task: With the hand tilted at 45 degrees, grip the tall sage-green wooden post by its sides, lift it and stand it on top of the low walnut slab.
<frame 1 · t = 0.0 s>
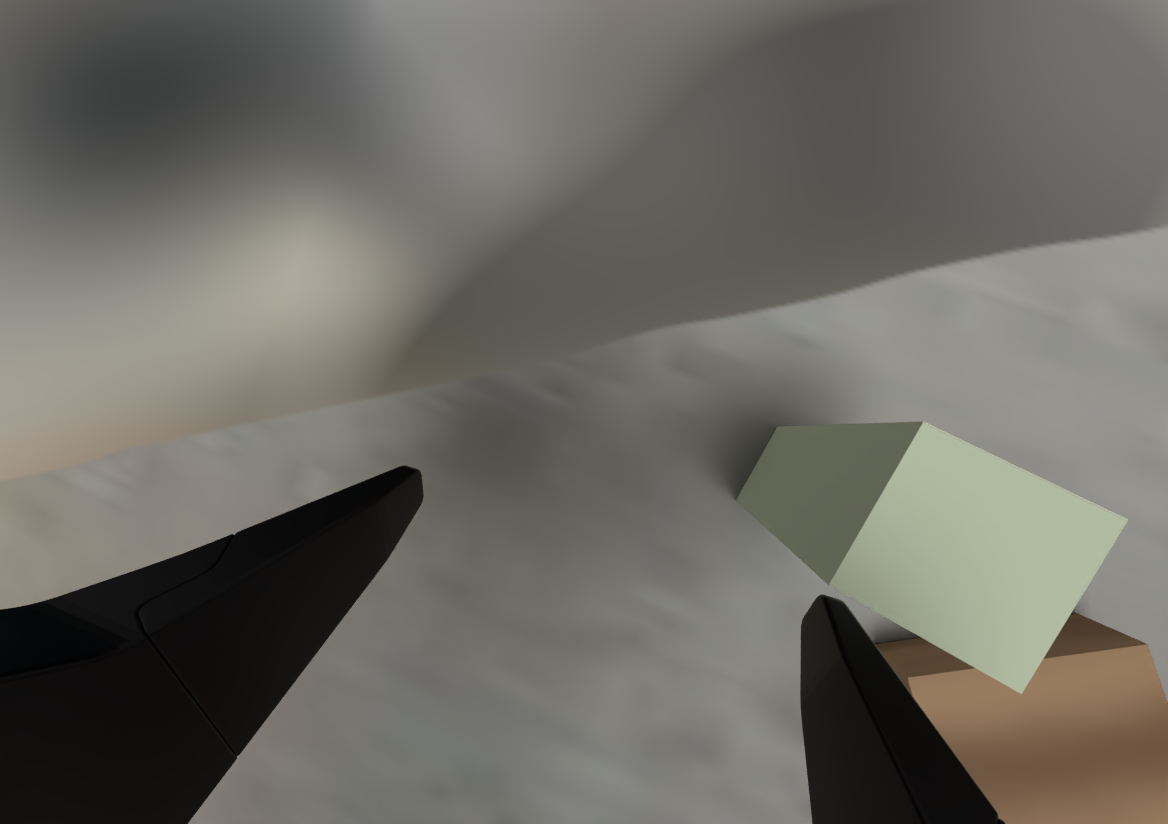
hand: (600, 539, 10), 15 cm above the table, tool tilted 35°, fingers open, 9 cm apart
sage post: (796, 484, 23), on the table
walnut slab: (1001, 724, 21), on the table
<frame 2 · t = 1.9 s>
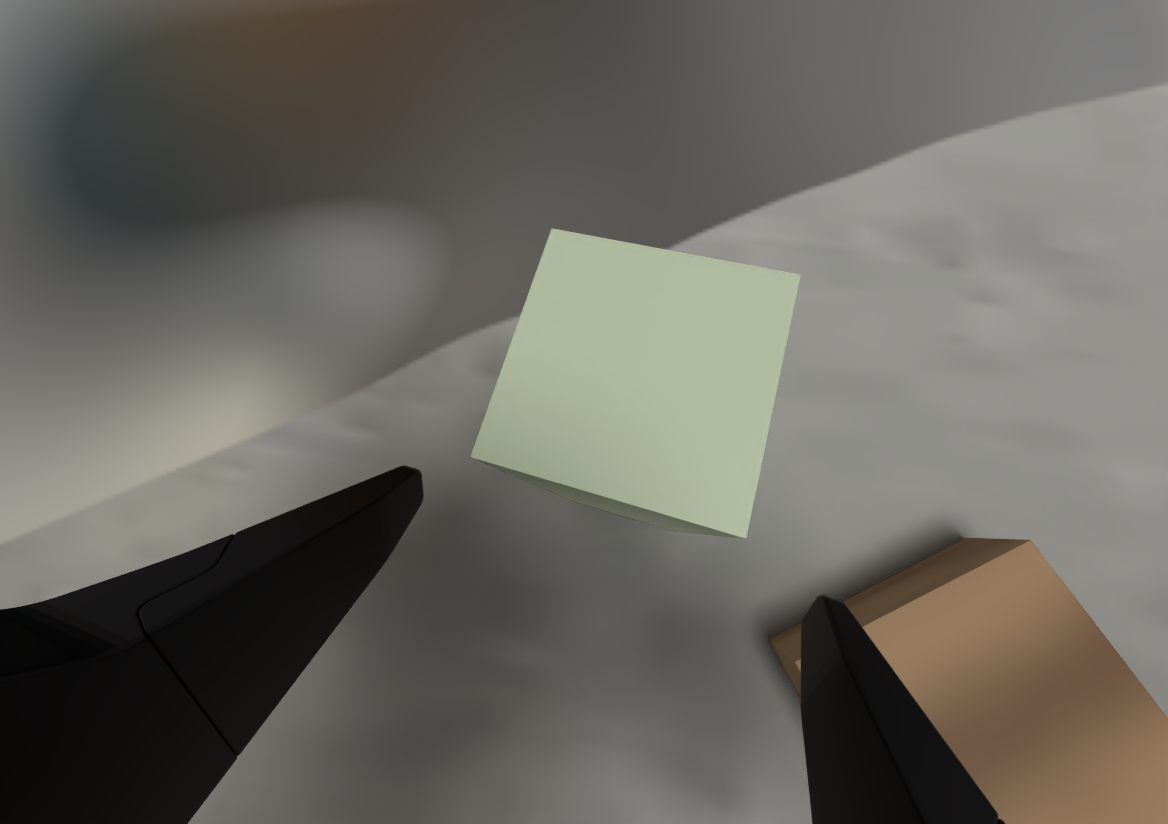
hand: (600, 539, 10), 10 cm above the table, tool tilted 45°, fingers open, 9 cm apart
sage post: (635, 467, 20), on the table
walnut slab: (941, 705, 16), on the table
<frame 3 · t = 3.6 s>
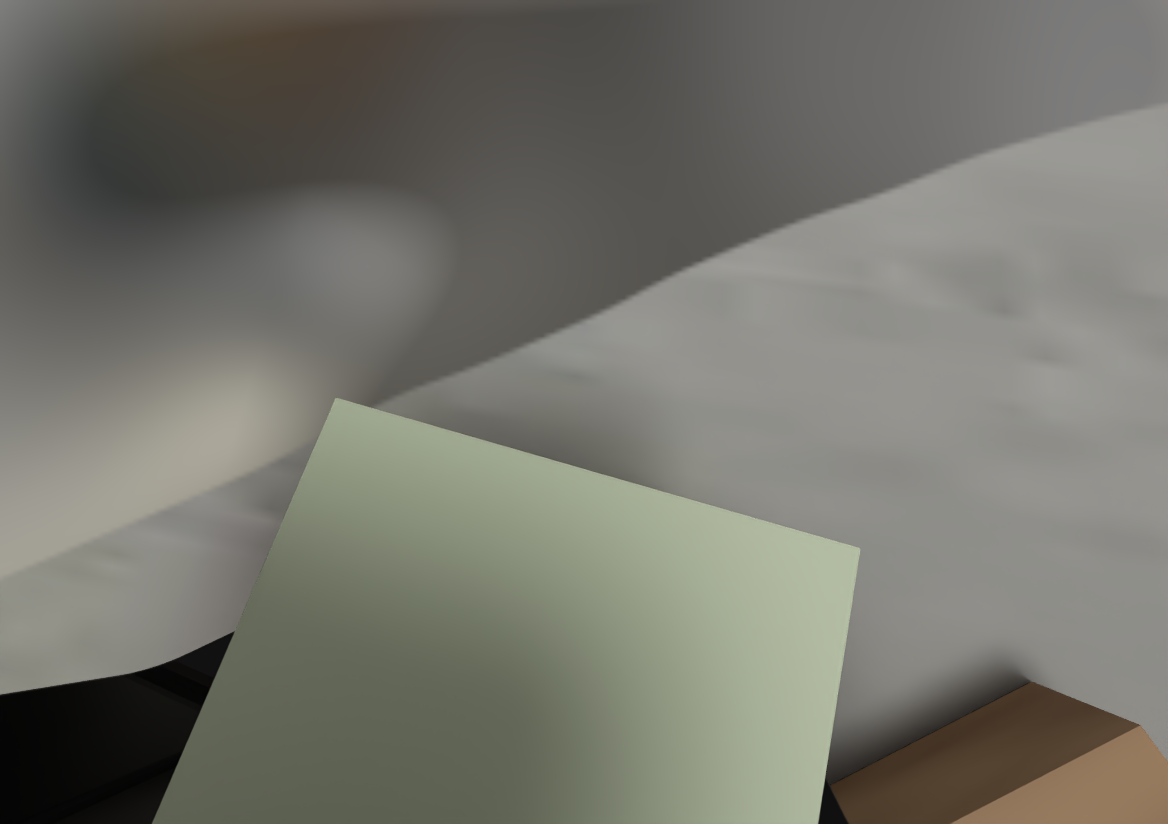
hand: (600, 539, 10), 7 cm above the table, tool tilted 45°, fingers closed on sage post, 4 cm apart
sage post: (604, 571, 16), on the table, touching gripper
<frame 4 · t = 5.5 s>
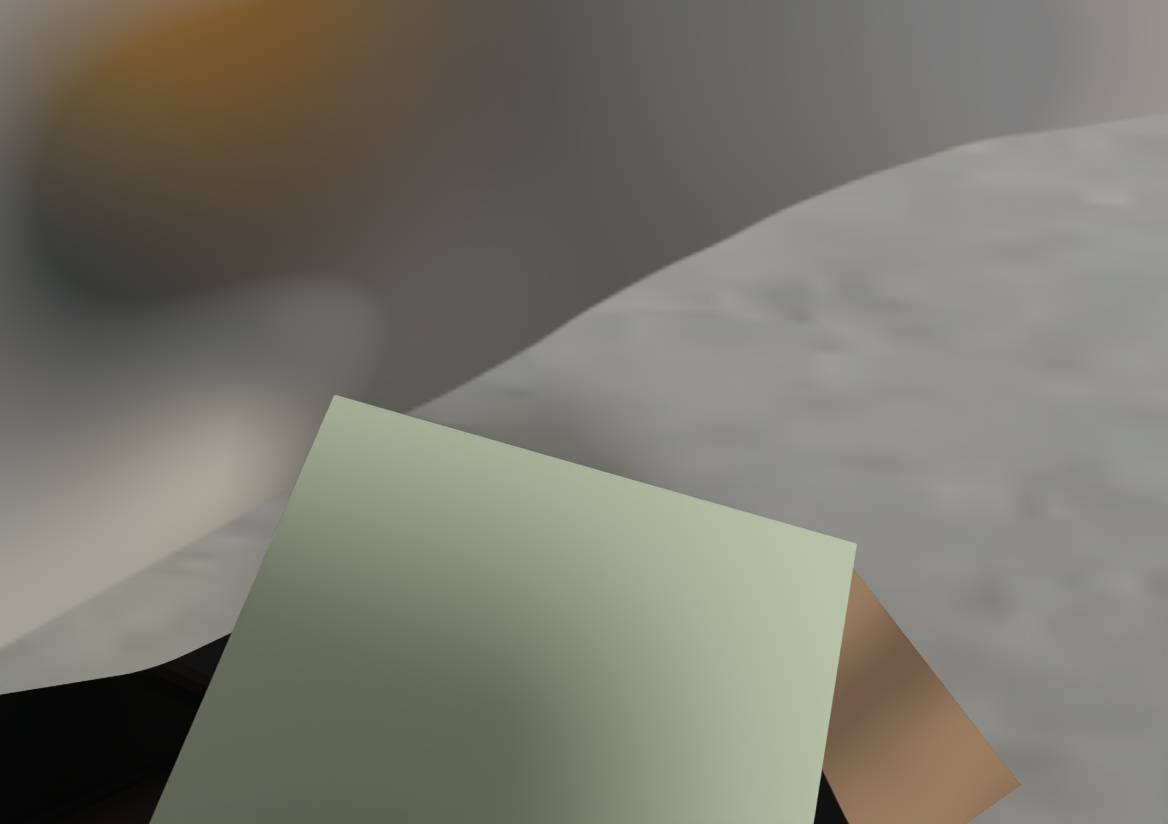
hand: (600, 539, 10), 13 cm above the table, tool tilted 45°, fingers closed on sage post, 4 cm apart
sage post: (603, 570, 16), point 7 cm above the table, touching gripper
walnut slab: (805, 700, 20), on the table
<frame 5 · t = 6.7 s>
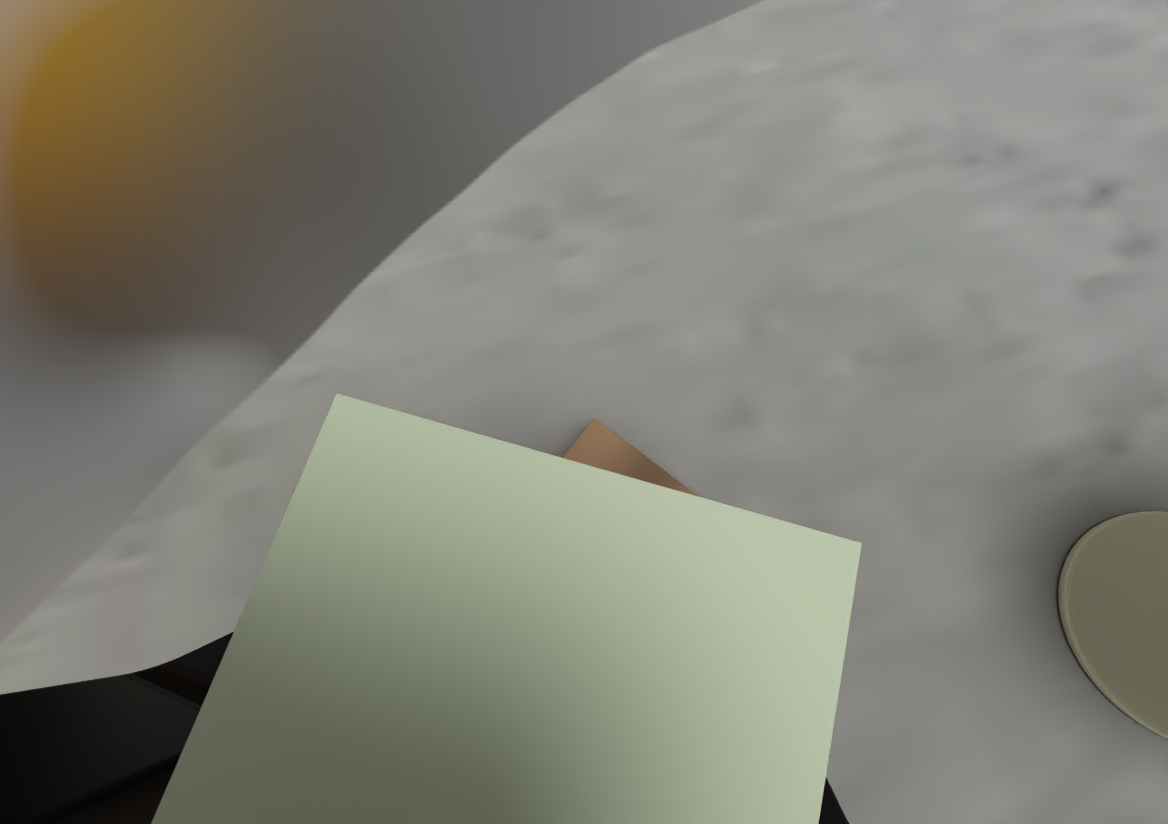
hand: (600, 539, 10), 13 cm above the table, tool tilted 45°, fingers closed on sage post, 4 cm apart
sage post: (604, 570, 16), point 6 cm above the table, touching gripper
walnut slab: (614, 555, 21), on the table
when the fingers open (10 cm above the table, at t = 7.4 s): sage post stays where it is, resting on walnut slab.
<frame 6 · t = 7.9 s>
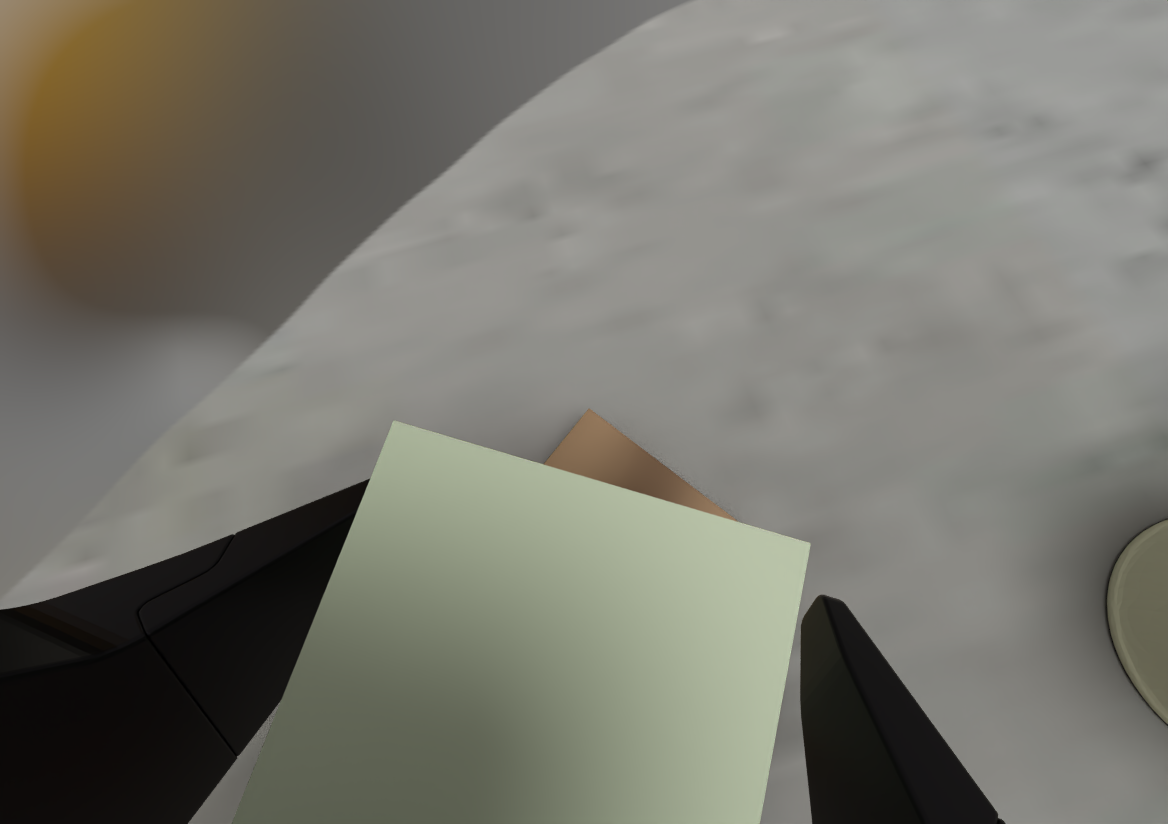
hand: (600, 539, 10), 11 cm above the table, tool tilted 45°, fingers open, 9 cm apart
sage post: (606, 568, 17), point 3 cm above the table, touching walnut slab
walnut slab: (610, 561, 19), on the table
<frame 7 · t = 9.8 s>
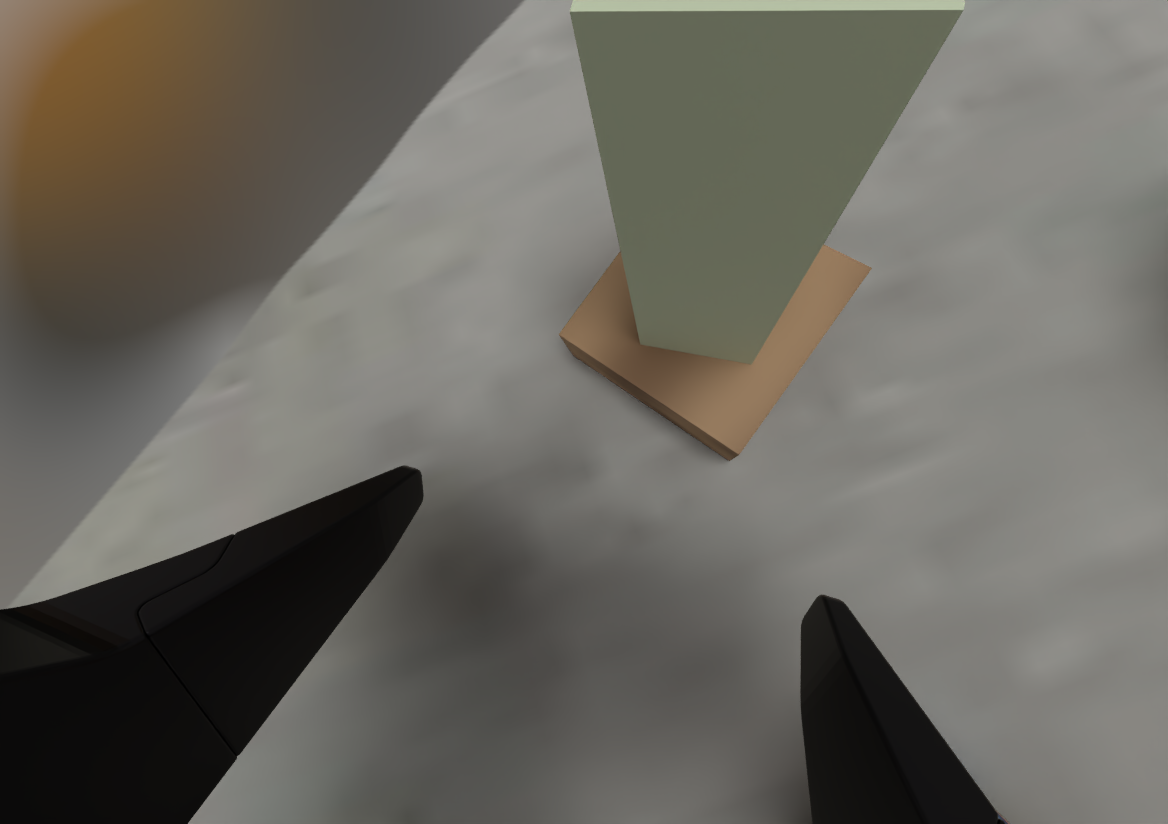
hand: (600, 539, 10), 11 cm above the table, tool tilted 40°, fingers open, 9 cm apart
sage post: (705, 303, 18), point 3 cm above the table, touching walnut slab
walnut slab: (701, 329, 21), on the table
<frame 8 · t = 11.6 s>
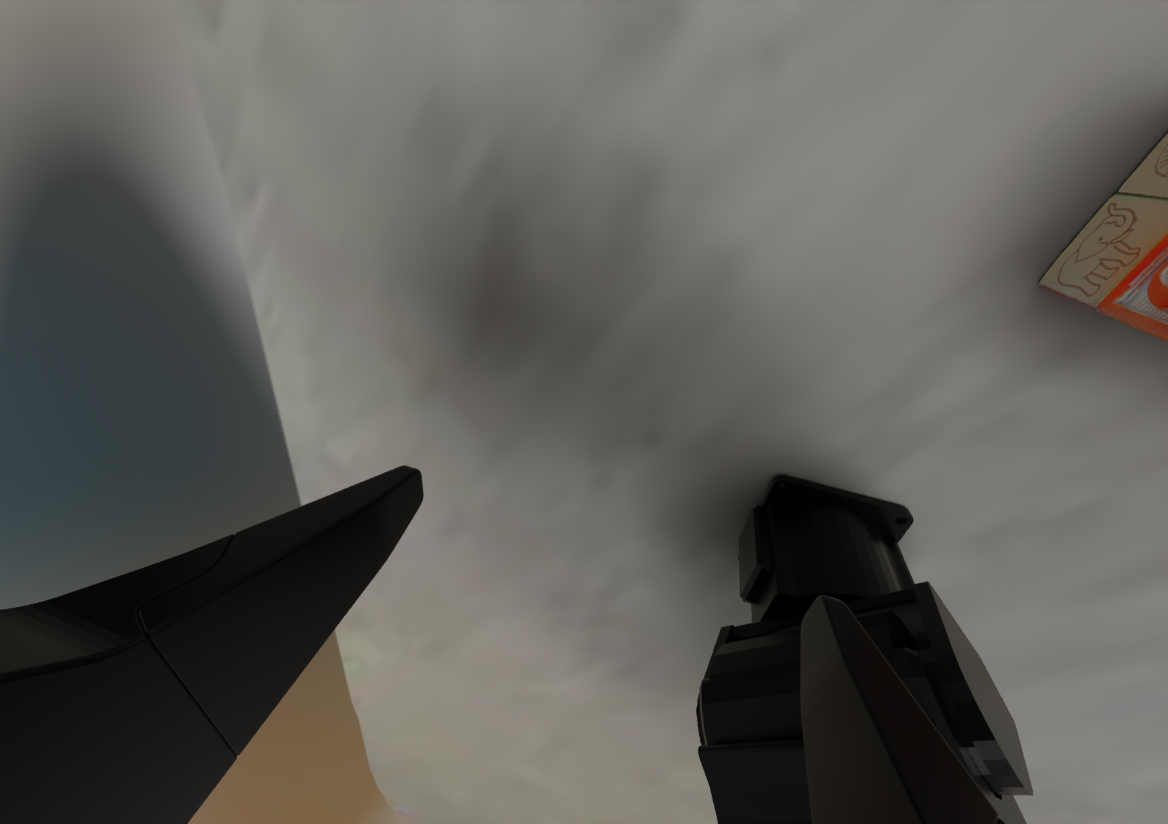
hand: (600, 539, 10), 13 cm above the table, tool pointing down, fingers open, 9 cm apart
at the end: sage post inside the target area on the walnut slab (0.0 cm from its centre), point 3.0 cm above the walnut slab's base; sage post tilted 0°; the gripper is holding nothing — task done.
